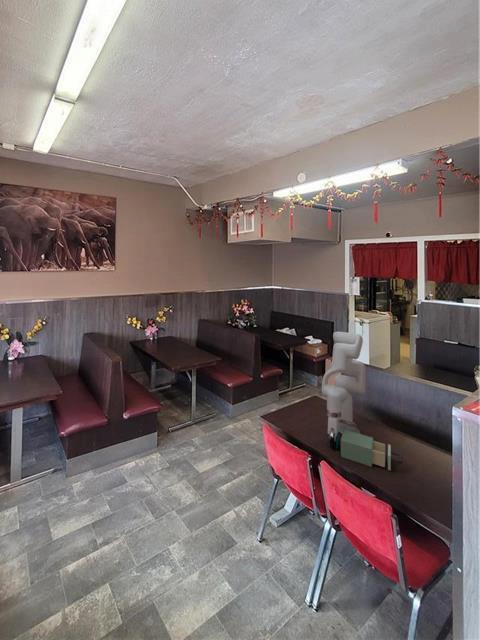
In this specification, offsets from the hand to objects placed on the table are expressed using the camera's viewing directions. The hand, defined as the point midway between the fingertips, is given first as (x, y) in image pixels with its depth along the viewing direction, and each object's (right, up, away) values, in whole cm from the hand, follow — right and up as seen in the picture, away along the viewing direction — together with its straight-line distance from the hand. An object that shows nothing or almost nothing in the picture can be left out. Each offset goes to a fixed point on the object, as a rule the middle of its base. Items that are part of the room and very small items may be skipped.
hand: (334, 443), depth 175 cm
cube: (0, -1, 0) cm, 1 cm away
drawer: (+18, 0, -15) cm, 23 cm away
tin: (+13, -1, +9) cm, 16 cm away
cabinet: (+8, -1, -9) cm, 12 cm away
